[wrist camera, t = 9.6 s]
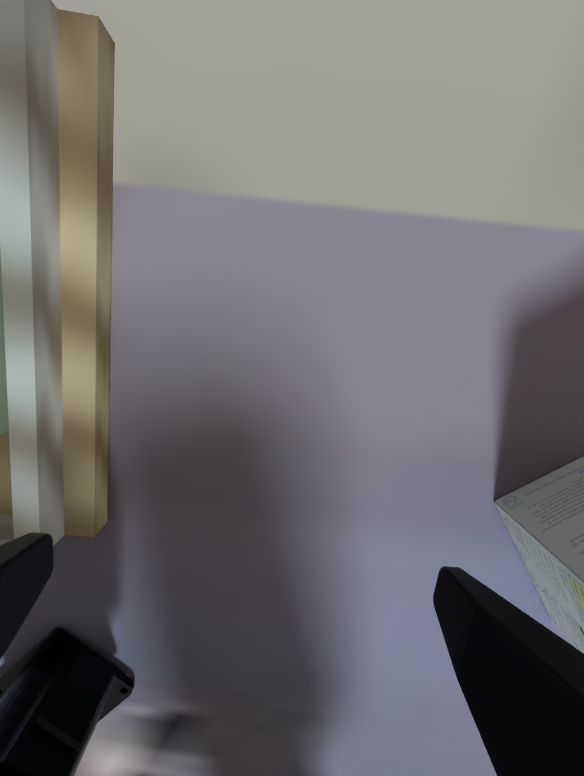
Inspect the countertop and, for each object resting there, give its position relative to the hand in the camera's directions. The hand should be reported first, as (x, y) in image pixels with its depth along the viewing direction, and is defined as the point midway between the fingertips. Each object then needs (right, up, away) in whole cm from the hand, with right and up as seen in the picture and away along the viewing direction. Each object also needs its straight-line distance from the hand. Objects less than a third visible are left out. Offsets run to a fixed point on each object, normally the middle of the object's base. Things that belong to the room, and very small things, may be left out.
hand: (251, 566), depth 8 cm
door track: (-13, +8, +10) cm, 18 cm away
